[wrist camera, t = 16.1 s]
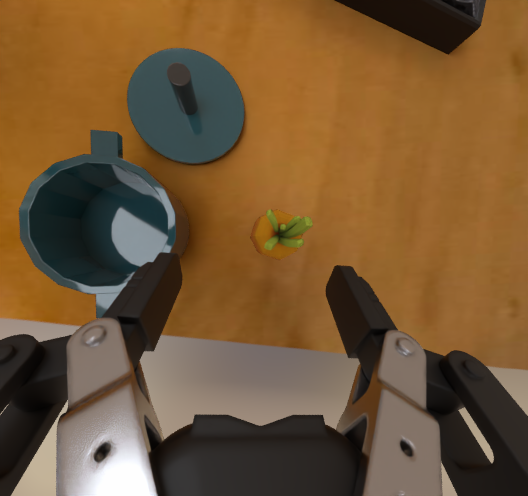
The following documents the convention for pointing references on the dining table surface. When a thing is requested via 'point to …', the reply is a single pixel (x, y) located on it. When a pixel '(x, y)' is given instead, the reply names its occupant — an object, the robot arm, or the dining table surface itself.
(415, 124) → the dining table surface
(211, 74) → the pan lid
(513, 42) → the dining table surface
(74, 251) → the saucepan
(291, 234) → the carrot
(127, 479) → the robot arm
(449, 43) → the food platter
